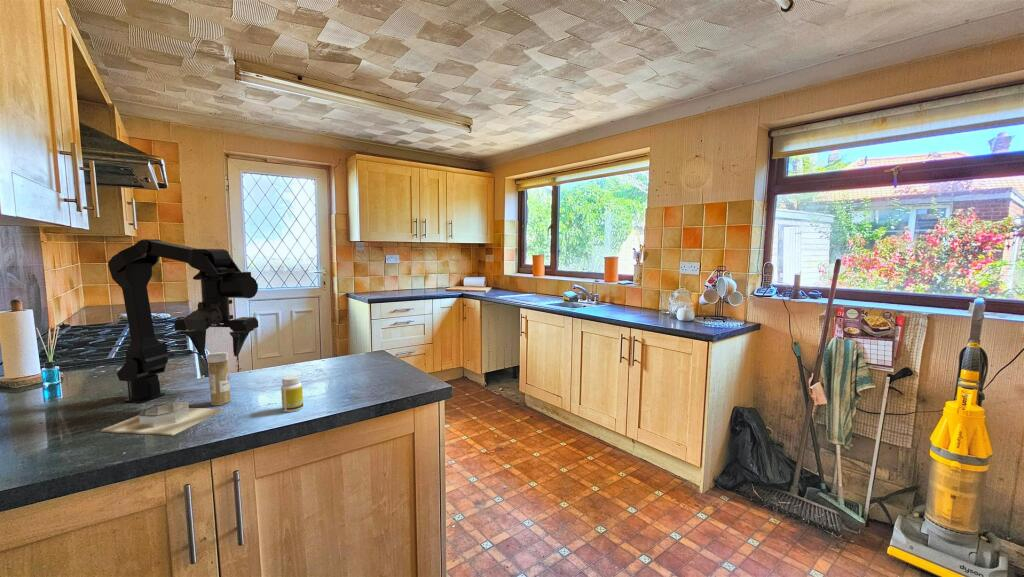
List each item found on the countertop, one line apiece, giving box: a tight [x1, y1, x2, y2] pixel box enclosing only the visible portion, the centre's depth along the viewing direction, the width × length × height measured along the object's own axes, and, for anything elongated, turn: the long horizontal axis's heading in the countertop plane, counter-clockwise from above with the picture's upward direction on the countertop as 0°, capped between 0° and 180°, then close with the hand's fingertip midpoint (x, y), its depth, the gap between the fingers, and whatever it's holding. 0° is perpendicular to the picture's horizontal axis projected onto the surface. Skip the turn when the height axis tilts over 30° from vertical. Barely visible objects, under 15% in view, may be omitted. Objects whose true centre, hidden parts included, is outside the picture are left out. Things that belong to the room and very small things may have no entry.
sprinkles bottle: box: [206, 351, 232, 407], centre depth 112 cm, size 5×5×13 cm
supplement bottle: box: [280, 374, 304, 413], centre depth 107 cm, size 5×5×8 cm
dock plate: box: [100, 407, 224, 436], centre depth 101 cm, size 18×14×1 cm
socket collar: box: [138, 401, 190, 427], centre depth 101 cm, size 9×9×2 cm
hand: (219, 355), depth 111 cm, fingers open, 9 cm apart
